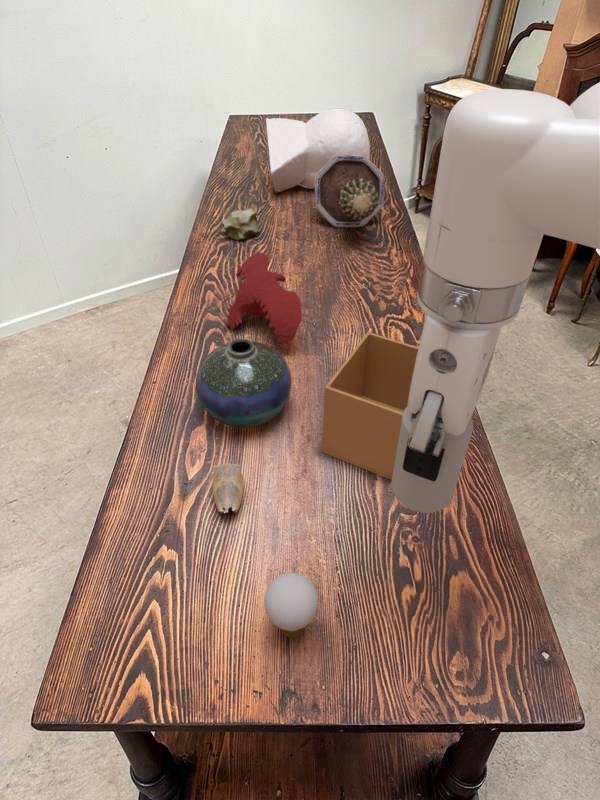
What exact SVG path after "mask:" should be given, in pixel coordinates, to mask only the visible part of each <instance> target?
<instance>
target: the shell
mask: <svg viewBox="0 0 600 800" xmlns="http://www.w3.org/2000/svg"><path fill="white" fill-rule="evenodd" d="M212 493H213V499H214V504H215V506H216V510H217V511H218V513H220V514H222V515H223V514H224V515H225V514H226V513H229V509H230V508H231V511H232V512H234V514H235V513H237V512H238V511H239V510H240V507H241V505H242V500H243V495H244V478H243V473H242V468H241V467H240V464H234V463H230V462H226V463H223V464H220V465H217V466H215V470H214V473H213V478H212Z"/></svg>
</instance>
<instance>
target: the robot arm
mask: <svg viewBox="0 0 600 800" xmlns="http://www.w3.org/2000/svg"><path fill="white" fill-rule="evenodd" d="M433 191H434V192H433V197H432V202H431V209H430V215H429V221H428V227H427V232H426V238H425V244H424V250H423V255H422V261H421V268H420V272H419V273H420V274H419V279H418V286H417V292H416V302H417V304H418V306H419V307H420V309H421V310H422V311H423V312H424V313H425V318H424V323H423V327H422V331H421V334H420V335H421V336H420V337H419V344H418V347H419V348H418V352H417V357H416V361H415V366H414V371H413V376H412V381H411V386H410V391H409V397H408V404H407V415H408V417H409V419H410V420H411V421H412V420H413V419H415V420H414V423H413V427H412V430H411V434H410V437H409V439H408V442H407V447H406V452H405V457H404V462H403V470H405V471H406V472H409V473H412V474H414V475H417V476H419V477H422V478H425V479H428V480H430V481H436V479H437V477H438V474H439V470H440V466H441V463H442V459H443V455H444V451H445V449H443V448H442V446H443V443H444V440H445V436H446V433H449V434H452V435H454V436H459V435H461V434H462V433H464V431H465V430H466V428H467V426H468V423H469V421H470V419H471V416H472V417H473V414H474V412H475V409H476V408H477V407H476V406H477V405H478V402H479V399H480V397H481V394H482V393H483V390H484V387H485V384H486V383H487V382H486V381H487V379H488V377H489V376H488V375H489V372H490V369H491V365H492V360H493V356H494V353H495V349H496V346H497V344H498V339H499V335H500V332H501V328H502V327H505V326H507V325H509V324H510V323H512V322H513V321H514V320H515V319H516V318H517V317H518V315H519V312H520V309H521V306H522V303H523V299H524V296H525V293H526V290H527V287H528V284H529V281H530V277H531V276H532V275H531V274H532V271H533V269H534V266H535V263H536V260H537V256H538V254H539V250H540V247H541V244H542V240H543V237H544V235H545V236H548V237H553V238H557V239H561V240H565V241H568V242H572V243H575V244H579V245H582V246H585V247H589V248H593V249H597V250H600V81H599V82H598V83H596V84H594V85H592V86H590V87H589V88H588V89H586V90H585V91H584V92H583V93H581V94H580V95H579V96H578V97H576V98H575V100H574V101H573V102H572V103H571V104H570V105H569V104H567V102H565V101H563V100H561V99H559V98H557V97H555V96H552V95H550V94H547V93H543V92H537V91H533V90H525V89H514V88H510V89H509V88H497V89H495V88H494V89H487V90H486V89H485V90H481V91H477V92H473V93H470V94H467V95H465V96H464V97H463V98H460V99H459V100H458V101H457V102H456V104H454V105H453V107H452V108H451V110H450V112H449V113H448V116H447V118H446V121H445V126H444V131H443V135H442V141H441V147H440V154H439V160H438V166H437V172H436V178H435V184H434V190H433ZM439 412H441V417H442V418H440V417H438V415H439ZM434 427H435V428H438V429H440V430H439V434H438V437H437V440H436V441H434V440H431V439H430V438H431V434H432V431H433V429H434Z"/></svg>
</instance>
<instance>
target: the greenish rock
mask: <svg viewBox="0 0 600 800" xmlns="http://www.w3.org/2000/svg"><path fill="white" fill-rule="evenodd" d="M262 213H263V211H262V210H261V211H260V212H259V213H257V212H256V209H255V210H254V208H253V207H250V208H249V209H245V210H240V209H237V210H233V211H232V212H229V214H228V217H227V218H225V219H222V220H221V224H222V227H223V228H224V231H225V232H226V236H227V237H229V238H230V239H232V240H234V241H240V240H244V241H245V240H248V239H251V238H252V237H253V236H255V235H256V234H257V233H258V232H259V228H260V225H259V224H260V223H259V221H258V219H257V216H259V215H261V214H262Z"/></svg>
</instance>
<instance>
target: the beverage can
mask: <svg viewBox="0 0 600 800" xmlns="http://www.w3.org/2000/svg"><path fill="white" fill-rule="evenodd" d="M438 417H440V418H442V417H441V412H439V415H438ZM414 420H415V419H413V420H412V421H411V420H410V419H409V417H408V415H407V407H406V408H405V410H404V412H403V416H402V422H401V428H400V434H399V440H398V446H397V452H396V458H395V464H394V470H393V476H392V480H390V481H391V485H390V488H391V490H392V494H393V496H394V498H395V499H396V500H397V501H398V502H399V503H400V504H401V505H402V506H403V507H405V508H407V509H408V510H411V511H413V512H416V513H421V514H432V513H438V512H440V511H442V510H444V509H446V508H447V507H448V506H449V505H450V504H451V502H452V500H453V498H454V494H455V491H456V488H457V484H458V482H459V478H460V475H461V471H462V469H463V468H462V467H463V464H464V463H465V462H464V461H465V458H466V454H467V452H468V448H469V445H470V441H471V438H472V435H473V431H474V421H473V415H472V416H471V419H470V421H469V423H468V426H467V428H466V430H465V431H464V433H462V434H461V435H459V436H454V435H452V434H449V433H446V436H445V440H444V443H443V446H442V448H443V449H445V451H444V455H443V459H442V463H441V466H440V470H439V474H438V477H437V479H436V481H430V480H428V479H425V478H422V477H419V476H417V475H414V474H412V473H409V472H406V471H405V470H403V462H404V457H405V452H406V447H407V442H408V439H409V437H410V434H411V430H412V427H413V423H414ZM439 430H440V429H438V428H435V427H434V429H433V431H432V434H431V438H430V439H431V440H434V441H436V440H437V437H438V434H439Z"/></svg>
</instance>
